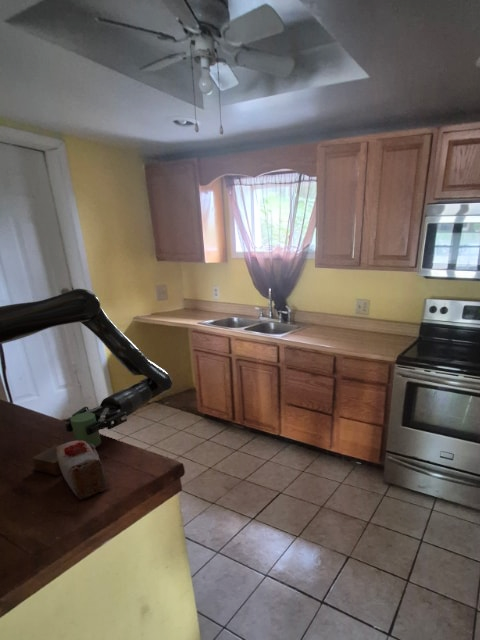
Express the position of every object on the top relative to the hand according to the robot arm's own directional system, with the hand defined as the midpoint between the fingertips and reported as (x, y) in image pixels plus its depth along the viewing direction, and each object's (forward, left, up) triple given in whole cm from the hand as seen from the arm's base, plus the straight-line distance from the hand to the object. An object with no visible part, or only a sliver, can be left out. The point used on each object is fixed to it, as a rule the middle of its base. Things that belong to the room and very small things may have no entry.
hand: (77, 430), depth 94 cm
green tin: (+2, +2, -5) cm, 6 cm away
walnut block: (-5, -3, -7) cm, 9 cm away
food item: (0, -14, -7) cm, 16 cm away
